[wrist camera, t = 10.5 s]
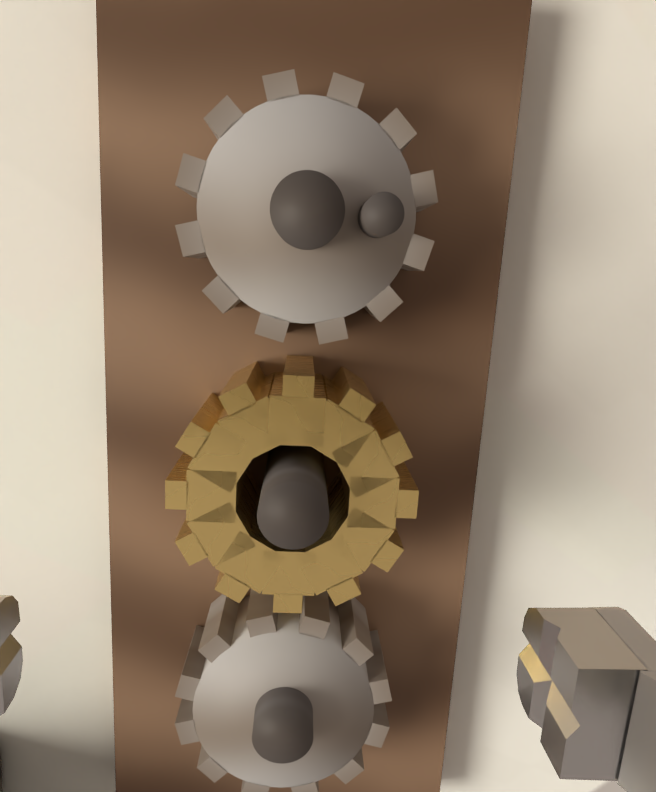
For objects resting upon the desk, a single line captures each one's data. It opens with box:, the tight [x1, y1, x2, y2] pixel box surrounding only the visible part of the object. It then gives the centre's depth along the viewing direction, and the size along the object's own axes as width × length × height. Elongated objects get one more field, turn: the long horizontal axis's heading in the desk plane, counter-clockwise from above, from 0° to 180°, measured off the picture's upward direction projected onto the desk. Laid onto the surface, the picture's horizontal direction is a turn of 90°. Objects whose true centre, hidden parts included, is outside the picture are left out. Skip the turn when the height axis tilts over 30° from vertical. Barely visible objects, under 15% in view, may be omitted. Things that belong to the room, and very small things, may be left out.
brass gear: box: [165, 355, 419, 613], centre depth 17 cm, size 7×7×4 cm
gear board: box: [96, 0, 532, 792], centre depth 17 cm, size 28×12×6 cm, turn 177°
